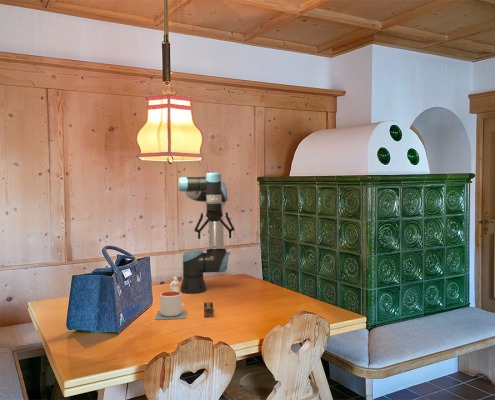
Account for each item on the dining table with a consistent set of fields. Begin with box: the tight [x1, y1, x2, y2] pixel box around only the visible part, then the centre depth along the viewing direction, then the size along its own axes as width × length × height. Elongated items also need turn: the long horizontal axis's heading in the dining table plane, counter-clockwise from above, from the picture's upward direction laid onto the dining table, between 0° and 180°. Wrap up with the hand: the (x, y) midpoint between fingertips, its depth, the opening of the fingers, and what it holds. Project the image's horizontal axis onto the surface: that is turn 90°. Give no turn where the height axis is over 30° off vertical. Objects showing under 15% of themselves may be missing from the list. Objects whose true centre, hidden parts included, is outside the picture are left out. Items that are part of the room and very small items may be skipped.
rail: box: [203, 301, 215, 318], centre depth 232 cm, size 12×4×4 cm, turn 6°
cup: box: [159, 291, 183, 317], centre depth 230 cm, size 10×10×10 cm
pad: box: [154, 309, 187, 321], centre depth 230 cm, size 14×14×1 cm
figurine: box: [168, 276, 184, 307], centre depth 249 cm, size 9×9×15 cm
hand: (214, 245), depth 242 cm, fingers open, 13 cm apart
